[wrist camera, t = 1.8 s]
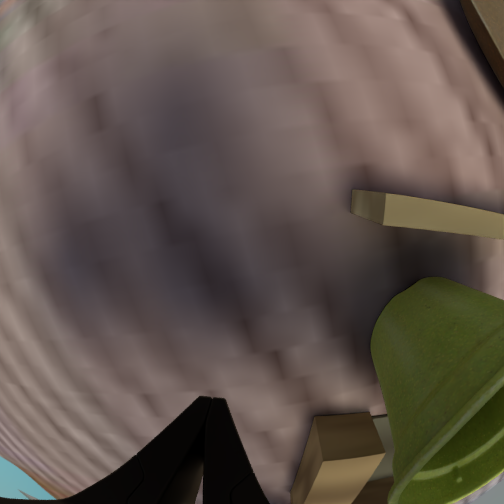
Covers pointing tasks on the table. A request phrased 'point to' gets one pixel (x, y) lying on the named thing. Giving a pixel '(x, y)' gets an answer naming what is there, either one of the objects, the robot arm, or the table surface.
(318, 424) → the compartment box
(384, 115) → the table surface
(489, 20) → the plant saucer
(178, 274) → the table surface
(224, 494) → the robot arm
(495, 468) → the plant pot
